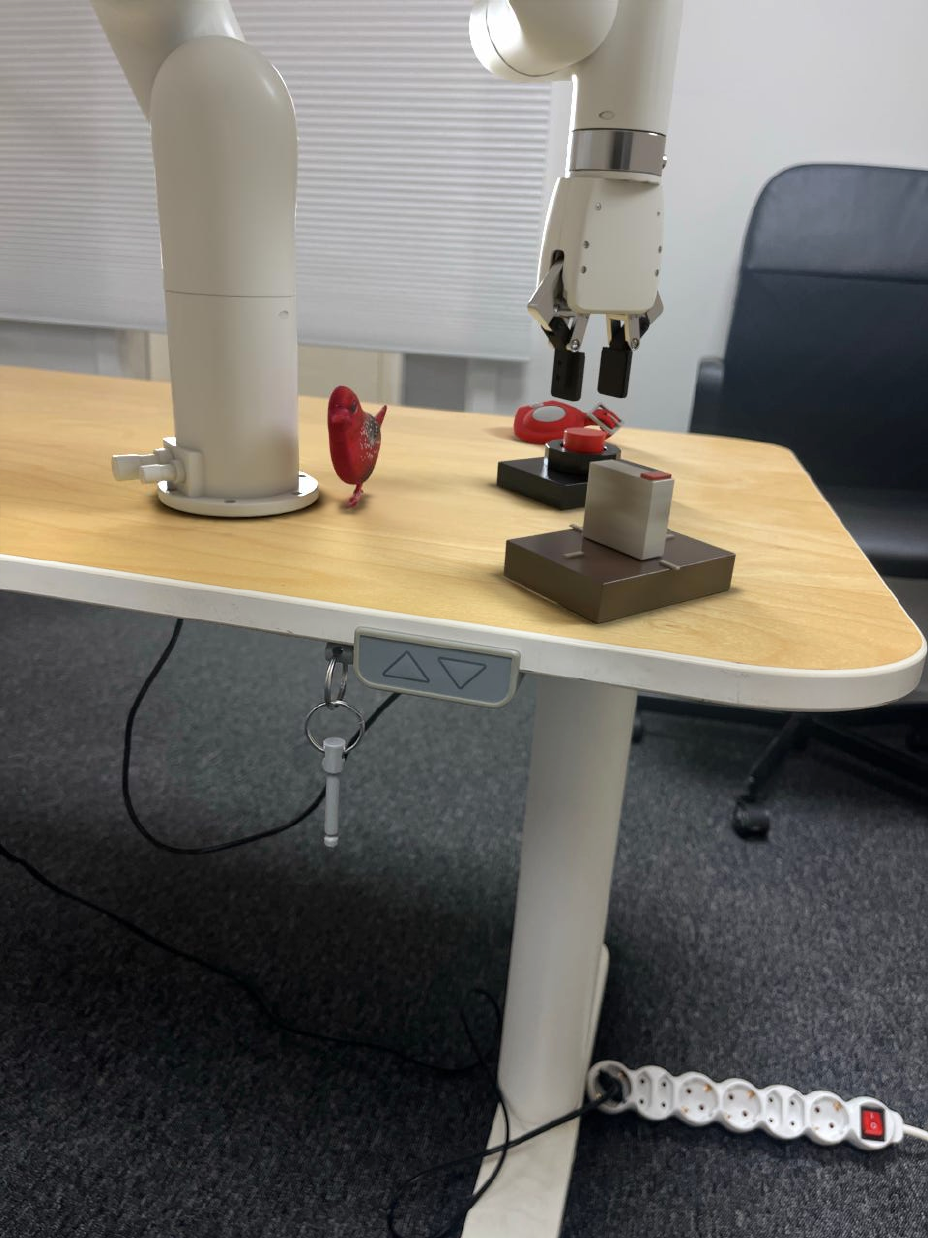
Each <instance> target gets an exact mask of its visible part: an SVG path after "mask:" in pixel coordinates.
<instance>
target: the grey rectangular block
mask: <svg viewBox="0 0 928 1238" xmlns="http://www.w3.org/2000/svg"><path fill="white" fill-rule="evenodd" d="M672 476H673V475H672V473H669V472H665V471H663V472H662V470H660V471H654V472H651V471H648V470H644V469H641V468H638V467H635V466H631V465H628V464H625V463H622V462H618V461H615V460H604V461H596V462H590V468H589V477H588V486H587V495H586V503H585V507H584V514H583V521H582V527H583V530H582V536H584V537H586V538H588V539H591V540H593V541H596V542H598V543H601V544H603V545H605V546H608V547H610V548H613V549H615V550H618V551H620V552H622V553H625V554H627V555H630V556H632V557H635V558H637V559H639V560H646V559H650V558H655V557H660V556H663V553H664V547H665V540H666V534H667V529H668V526H669V521H670V520H669V518H670V513H671V506H672V501H673V495H674V488H675V478H673V477H672Z"/></svg>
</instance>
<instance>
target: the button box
mask: <svg viewBox="0 0 928 1238" xmlns="http://www.w3.org/2000/svg"><path fill="white" fill-rule="evenodd" d="M563 441H564V439H559V440H552V441H550V442H548V443H546V444H545V448H544V456H537V457H529V458H519V459H511V460H500V461H498V462H497V469H496V472H497V473H496V482H495V483H496V484H495V485H496V486H497V487H500V488H502V489H505V490H508V491H510V492H511V493H515V494H517V495H520V496H523V497H525V498H528V499H530V500H533V501H534V502H535V501H536V502H538V503H541V504H543V505H545V506H548V507H551V508H553V509H556V510H559V511H561V512H564V511H570V510H576V509H582V508H583V509H584V508H585V503H586V495H587V486H588V477H589V468H590V462H596V461H604V460H615V461H618V462H622V463H625V464H628V465H631V466H635V467H638V468H641V469H644V470H648V471H651V472H654V471H662V470H659V469H656V468H653V467H649V466H646V465H643V464H640V463H637V462H633V461H630V460H627V459H623V458H622V449H621V448H620V447H619V446H617V445H615V444H611V443H608V442H605V443H604V451H601V452H581V451H575V450H569V449H566V448H563ZM662 472H664V471H662Z"/></svg>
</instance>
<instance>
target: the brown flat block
mask: <svg viewBox="0 0 928 1238" xmlns="http://www.w3.org/2000/svg"><path fill="white" fill-rule="evenodd" d="M568 526H569V528H567V529H561V530H556V531H550V532H544V533H539V534H538V533H537V534H532V535H527V536H522V537H521V536H520V537H515V538H510V539H506V540H505V552H504V563H503V564H504V566H503V576H504V577H506V578H507V579H510V580H512V581H513V582H515V583H517V584H519V585H521V586H523V587H525V588H527V589H528V590H529V589H530V590H531V591H533V592H535V593H537V594H538V595H541V596H543V597H544V598H547V599H549V600H551V601H553V602H554V603H557V604H558V605H560V606H563V607H564V608H566V609H569V610H571V611H573V612H574V613H576V614H578V615H580V616H582V617H584V618H586V619H588V620H590V621H592V622H594V623H596V624H601V623H605V622H608V621H613V620H617V619H621V618H623V617H628V616H631V615H636V614H639V613H643V612H648V611H651V610H655V609H659V608H663V607H668V606H670V605H675V604H678V603H681V602H685V601H689V600H694V599H697V598H701V597H705V596H708V595H712V594H717V593H720V592H725V591H728V590H730V589H731V584H732V579H733V573H734V568H735V562H736V558H737V557H736V556H737V553H735V552H733V551H729V550H727V549H724V548H721V547H718V546H715V545H713V544H711V543H707V542H705V541H702V540H700V539H697V538H694V537H691V536H689V535H685V534H684V533H683V534H682V533H681V532H678V531H674V530H672V529H669V528H667V534H666V540H665V547H664V553H663V556H660V557H655V558H650V559H646V560H639V559H637V558H635V557H632V556H630V555H627V554H625V553H622V552H620V551H618V550H615V549H613V548H610V547H608V546H605V545H603V544H601V543H598V542H596V541H593V540H591V539H588V538H586V537H584V536H582V530H583V526H580V525H577V524H575V523H571V524H569V525H568Z"/></svg>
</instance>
